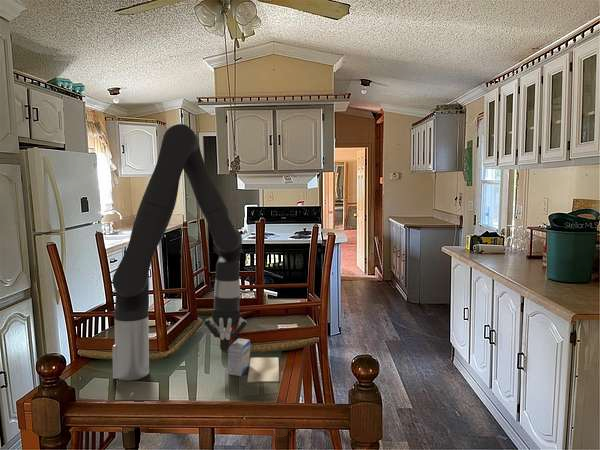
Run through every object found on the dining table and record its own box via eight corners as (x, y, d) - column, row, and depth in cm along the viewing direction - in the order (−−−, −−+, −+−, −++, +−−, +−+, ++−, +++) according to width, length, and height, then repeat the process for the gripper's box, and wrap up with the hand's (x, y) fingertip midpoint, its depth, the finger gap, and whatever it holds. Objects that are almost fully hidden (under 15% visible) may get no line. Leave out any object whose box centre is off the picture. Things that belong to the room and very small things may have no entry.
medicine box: (241, 376, 129) (243, 348, 128) (226, 374, 130) (228, 346, 129) (249, 366, 137) (251, 339, 136) (235, 364, 137) (237, 337, 137)
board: (247, 382, 125) (247, 381, 125) (250, 358, 143) (250, 357, 143) (279, 382, 126) (279, 380, 125) (278, 358, 143) (278, 357, 143)
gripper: (202, 296, 127) (200, 354, 128) (248, 297, 128) (246, 355, 129) (206, 290, 135) (204, 345, 136) (249, 291, 136) (247, 346, 137)
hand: (225, 350), depth 133 cm, fingers closed
